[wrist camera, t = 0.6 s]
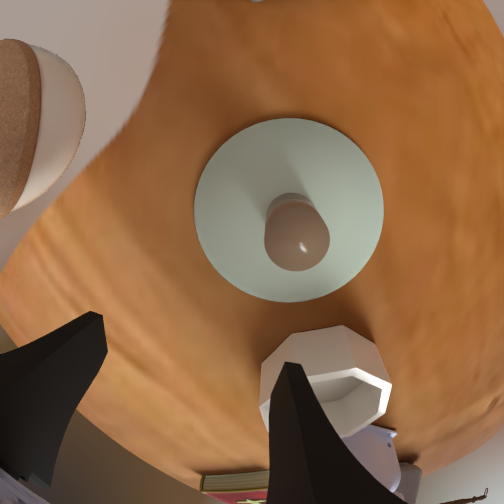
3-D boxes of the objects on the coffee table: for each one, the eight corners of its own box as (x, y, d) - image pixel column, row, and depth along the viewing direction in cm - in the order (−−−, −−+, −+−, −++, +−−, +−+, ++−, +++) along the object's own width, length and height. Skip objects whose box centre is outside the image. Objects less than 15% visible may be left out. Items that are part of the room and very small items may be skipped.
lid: (410, 196, 16) (450, 216, 11) (306, 322, 20) (313, 368, 15) (263, 83, 14) (260, 60, 9) (167, 237, 18) (136, 268, 14)
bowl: (394, 355, 20) (411, 393, 16) (323, 412, 24) (327, 449, 19) (315, 308, 19) (324, 351, 15) (243, 380, 22) (238, 422, 18)
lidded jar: (39, 54, 12) (-46, 44, 4) (135, 64, 13) (34, 25, 5) (9, 173, 16) (-71, 202, 8) (90, 212, 17) (-6, 268, 9)
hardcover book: (261, 502, 40) (260, 517, 36) (202, 472, 33) (198, 493, 29) (315, 495, 37) (316, 511, 33) (268, 466, 30) (267, 490, 27)
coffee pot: (363, 487, 35) (370, 547, 21) (351, 474, 31) (359, 548, 17) (463, 443, 30) (483, 500, 16) (470, 421, 26) (497, 489, 12)
